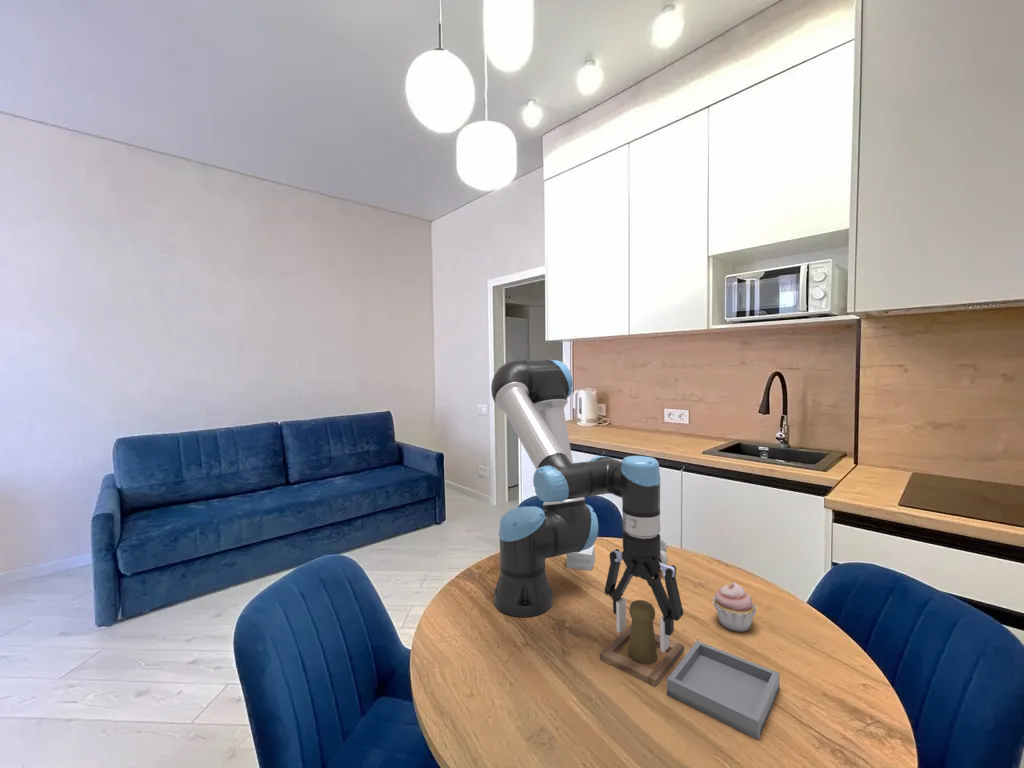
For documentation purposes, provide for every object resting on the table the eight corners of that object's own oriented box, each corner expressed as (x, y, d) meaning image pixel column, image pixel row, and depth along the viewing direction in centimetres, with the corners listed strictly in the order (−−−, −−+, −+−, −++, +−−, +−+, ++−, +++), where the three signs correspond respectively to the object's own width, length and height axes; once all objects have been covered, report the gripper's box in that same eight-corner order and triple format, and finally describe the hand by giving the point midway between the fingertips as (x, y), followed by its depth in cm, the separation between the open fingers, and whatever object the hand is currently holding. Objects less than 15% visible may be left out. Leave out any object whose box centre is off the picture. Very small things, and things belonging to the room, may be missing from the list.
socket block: (599, 659, 91) (599, 653, 91) (631, 629, 101) (631, 623, 101) (655, 686, 83) (655, 680, 83) (684, 650, 93) (684, 645, 93)
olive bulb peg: (659, 666, 89) (659, 612, 88) (628, 662, 90) (627, 609, 89) (655, 647, 95) (655, 597, 94) (626, 644, 96) (626, 594, 95)
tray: (667, 694, 81) (667, 678, 81) (697, 654, 92) (697, 640, 92) (758, 739, 71) (758, 721, 71) (779, 688, 82) (779, 672, 82)
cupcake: (707, 611, 108) (707, 571, 108) (749, 615, 106) (749, 574, 106) (717, 634, 99) (717, 590, 99) (763, 638, 97) (763, 594, 97)
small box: (595, 560, 138) (595, 544, 138) (592, 571, 131) (591, 554, 131) (570, 557, 141) (570, 541, 140) (566, 568, 133) (565, 551, 133)
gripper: (586, 525, 96) (588, 626, 97) (687, 551, 81) (687, 671, 82) (604, 516, 101) (605, 612, 102) (701, 539, 87) (702, 651, 88)
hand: (642, 638), depth 92 cm, fingers open, 9 cm apart
